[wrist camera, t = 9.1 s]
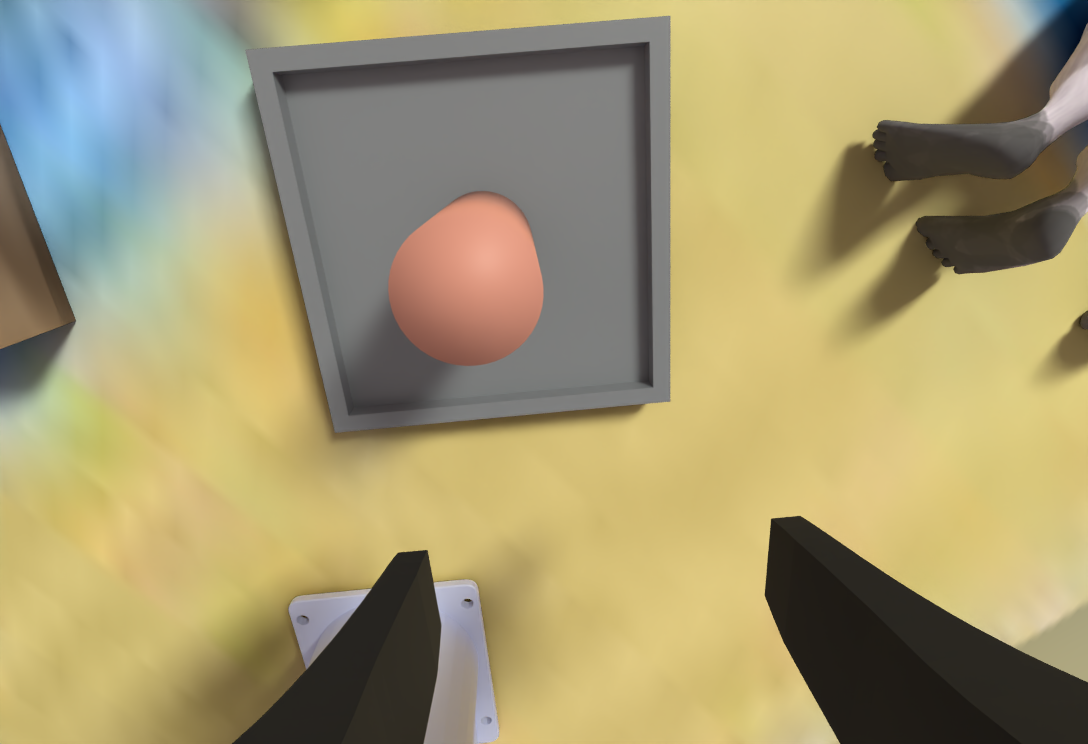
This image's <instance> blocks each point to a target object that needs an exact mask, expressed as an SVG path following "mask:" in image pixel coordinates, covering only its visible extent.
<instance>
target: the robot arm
mask: <svg viewBox="0 0 1088 744" xmlns="http://www.w3.org/2000/svg"><path fill="white" fill-rule="evenodd" d="M765 597H766V600H767V602H768V605H769V607H770V610H771V613H772V615H773V618H774V620H775V623H776V625H777V627H778V630H779V632H780V634H781V637H782V639H783V641H784V644H785V645H786V647H787V649H788V651H789V653H790V655H791V656H792V658H793V660H794V662H795V664H796V666H797V667H798V669H799V671H800V673H801V675H802V676H803V678H804V680H805V682H806V684H807V685H808V687H809V689H810V691H811V692H812V694H813V696H814V698H815V700H816V701H817V703H818V705H819V707H820V709H821V710H822V712H823V714H824V716H825V717H826V719H827V721H828V723H829V725H830V726H831V728H832V730H833V732H834V733H835V735H836V737H837V739H838V741H839V742H840V744H1088V682H1086V681H1083V680H1081V679H1079V678H1077V677H1075V676H1072V675H1070V674H1068V673H1066V672H1064V671H1061V670H1059V669H1057V668H1055V667H1053V666H1050V665H1048V664H1046V663H1044V662H1042V661H1040V660H1038V659H1036V658H1034V657H1032V656H1029V655H1027V654H1025V653H1023V652H1021V651H1019V650H1017V649H1015V648H1013V647H1011V646H1010V645H1008V644H1006V643H1004V642H1002V641H1000V640H998V639H996V638H994V637H992V636H990V635H989V634H987V633H985V632H983V631H981V630H979V629H977V628H975V627H973V626H972V625H970V624H968V623H966V622H964V621H963V620H961V619H959V618H957V617H955V616H954V615H952V614H950V613H949V612H947V611H945V610H944V609H942V608H940V607H939V606H937V605H935V604H934V603H932V602H930V601H929V600H927V599H925V598H924V597H922V596H920V595H919V594H917V593H915V592H914V591H912V590H911V589H909V588H907V587H906V586H904V585H903V584H901V583H899V582H898V581H896V580H895V579H893V578H892V577H890V576H889V575H887V574H886V573H884V572H883V571H881V570H880V569H878V568H877V567H875V566H874V565H872V564H871V563H869V562H868V561H866V560H865V559H863V558H862V557H860V556H859V555H857V554H856V553H854V552H853V551H851V550H850V549H849V548H847V547H846V546H844V545H843V544H841V543H840V542H838V541H837V540H835V539H834V538H833V537H831V536H830V535H828V534H827V533H825V532H824V531H822V530H821V529H819V528H818V527H816V526H815V525H813V524H812V523H810V522H809V521H807V520H806V519H804V518H803V517H801V516H795V517H784V518H773V519H771V528H770V539H769V551H768V563H767V575H766V587H765ZM464 599H470V600H472V601H470V602H466V601H464ZM288 609H289V614H290V617H291V621H292V624H293V627H294V631H295V634H296V637H297V640H298V644H299V647H300V650H301V654H302V657H303V660H304V663H305V667H306V671H305V672H304V673H303V674H302V675H301V676H300V677H299V679H298V680H297V681H296V682H295V683H294V684H293V685H292V686H291V687H290V688H289V689H288V690H287V691H286V693H285V694H284V695H283V696H282V697H281V698H280V699H279V700H278V701H277V702H276V703H275V704H274V705H273V706H272V707H271V708H270V709H269V710H268V711H267V712H266V713H265V714H264V715H263V716H262V717H261V718H260V719H259V720H258V721H257V722H256V723H255V724H254V725H252V726H251V727H250V728H249V729H248V730H247V731H246V732H245V733H244V734H242V735H241V736H240V737H239V738H238V739H237V740H236V741H235V742H234V743H232V744H478V743H487V742H492V741H494V740H496V739H497V738H498V737H499V723H498V716H497V710H496V703H495V696H494V690H493V683H492V676H491V670H490V663H489V656H488V650H487V643H486V636H485V630H484V623H483V616H482V610H481V603H480V596H479V590H478V586H477V584H476V583H475V582H474V581H472V580H468V579H463V580H453V581H443V582H433V577H432V572H431V567H430V561H429V556H428V551H427V550H423V551H412V552H401V553H398V554H397V555H396V556H395V557H394V558H393V559H392V561H391V562H390V564H389V565H388V566H387V568H386V569H385V571H384V572H383V573H382V575H381V576H380V578H379V579H378V580H377V582H376V583H375V584H374V586H373V587H372V589H362V590H352V591H342V592H332V593H322V594H312V595H302V596H297V597H295V598H294V599H293V600H292V602H291V604H290V606H289V608H288ZM301 615H304V616H306V617H308V618H304V617H302V616H301Z"/></svg>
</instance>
